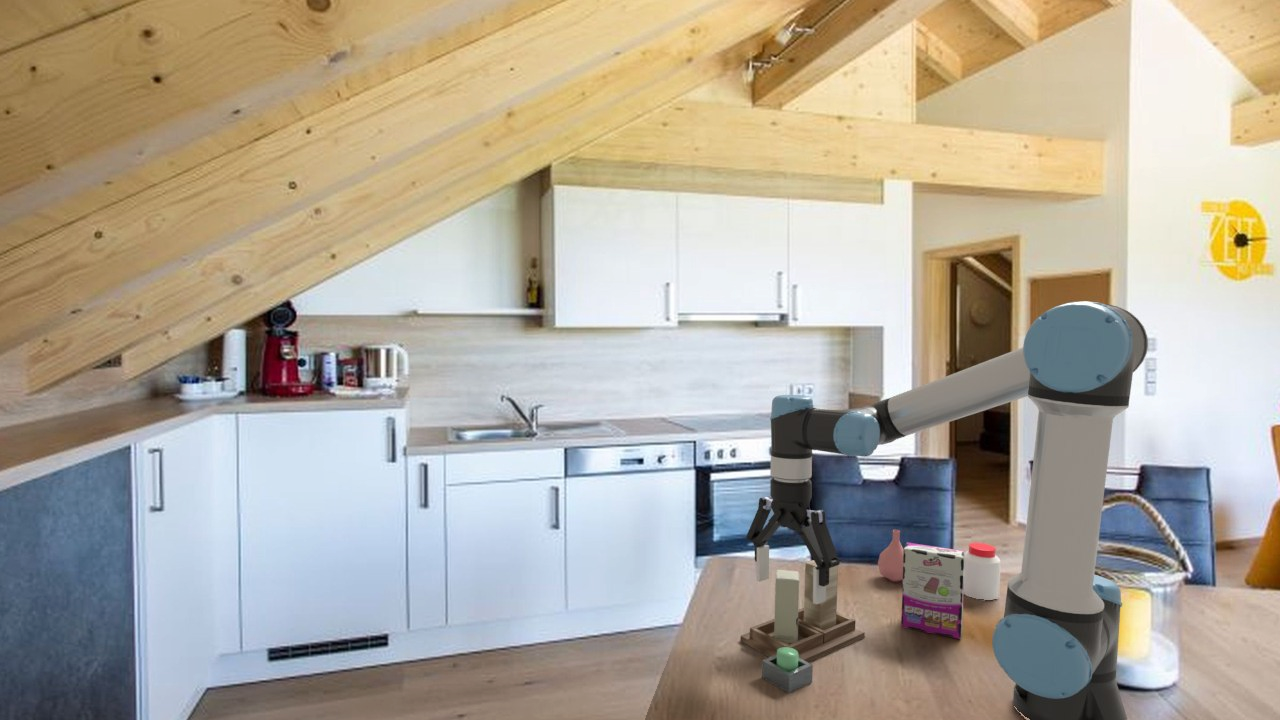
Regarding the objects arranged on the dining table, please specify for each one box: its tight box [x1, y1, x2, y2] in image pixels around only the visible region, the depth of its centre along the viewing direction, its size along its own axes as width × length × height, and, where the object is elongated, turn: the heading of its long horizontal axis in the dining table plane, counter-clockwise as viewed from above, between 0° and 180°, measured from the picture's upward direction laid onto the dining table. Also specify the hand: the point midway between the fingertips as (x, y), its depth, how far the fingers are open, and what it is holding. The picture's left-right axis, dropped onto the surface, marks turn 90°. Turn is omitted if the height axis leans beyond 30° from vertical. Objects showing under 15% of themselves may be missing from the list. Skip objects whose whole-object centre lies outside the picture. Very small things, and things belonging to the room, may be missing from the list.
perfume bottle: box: [877, 529, 904, 582], centre depth 161 cm, size 8×8×12 cm
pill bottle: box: [963, 542, 1002, 601], centre depth 153 cm, size 8×8×11 cm
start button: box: [777, 647, 798, 672], centre depth 115 cm, size 4×4×4 cm
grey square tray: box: [761, 654, 814, 694], centre depth 115 cm, size 6×6×3 cm
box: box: [774, 569, 800, 645], centre depth 127 cm, size 5×4×13 cm
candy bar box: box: [900, 542, 966, 640], centre depth 135 cm, size 11×5×16 cm, turn 62°
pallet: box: [739, 559, 866, 663], centre depth 130 cm, size 13×21×14 cm, turn 127°
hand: (789, 590), depth 126 cm, fingers open, 13 cm apart
